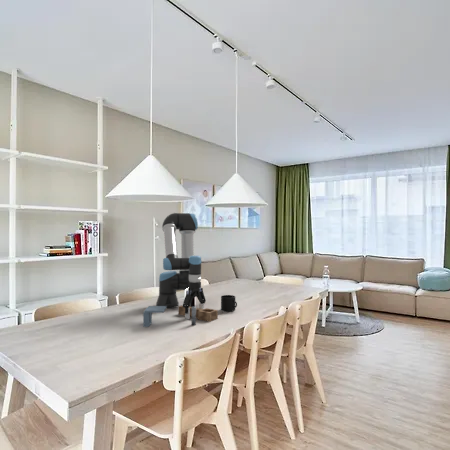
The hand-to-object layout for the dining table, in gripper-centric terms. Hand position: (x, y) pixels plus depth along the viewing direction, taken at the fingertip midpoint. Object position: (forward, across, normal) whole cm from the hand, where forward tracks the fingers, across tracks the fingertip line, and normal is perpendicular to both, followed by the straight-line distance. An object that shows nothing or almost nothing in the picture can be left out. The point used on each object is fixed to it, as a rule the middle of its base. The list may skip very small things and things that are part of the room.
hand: (194, 316), depth 201 cm
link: (0, 0, -1) cm, 1 cm away
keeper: (0, -25, +8) cm, 26 cm away
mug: (0, +25, -10) cm, 27 cm away
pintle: (0, -14, -10) cm, 17 cm away
